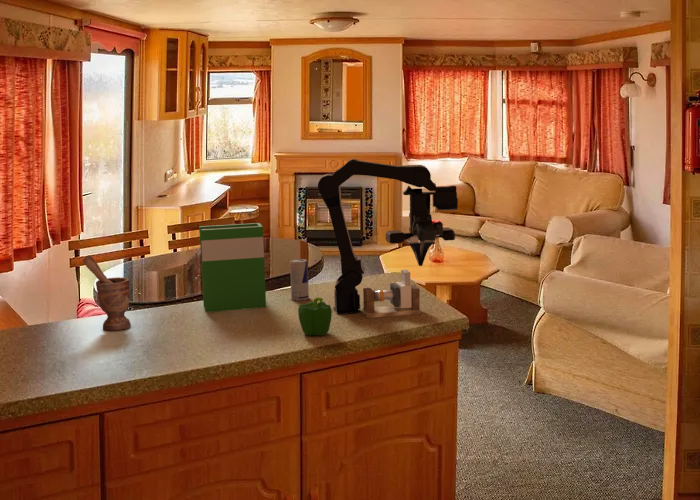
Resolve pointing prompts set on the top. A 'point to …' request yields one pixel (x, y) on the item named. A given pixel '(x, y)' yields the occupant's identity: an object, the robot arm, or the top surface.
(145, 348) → the top surface
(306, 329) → the bell pepper
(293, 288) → the energy drink
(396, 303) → the dark flat slab
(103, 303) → the mortar and pestle
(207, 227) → the hardback book
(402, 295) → the beige boxy piece
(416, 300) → the pipe stand
